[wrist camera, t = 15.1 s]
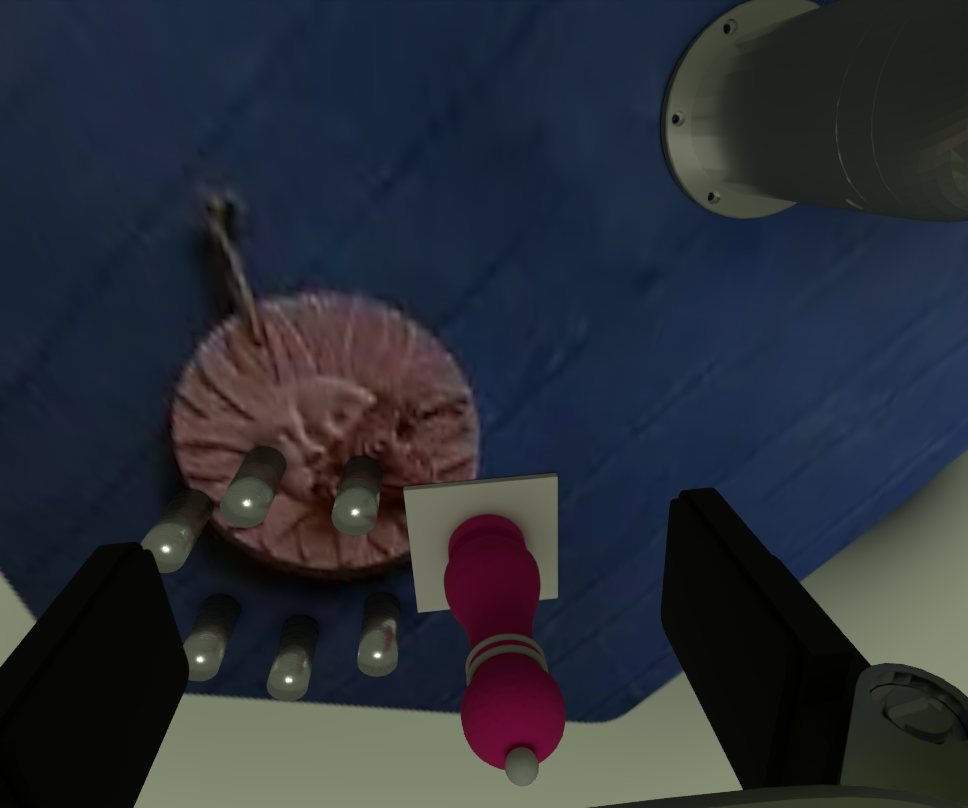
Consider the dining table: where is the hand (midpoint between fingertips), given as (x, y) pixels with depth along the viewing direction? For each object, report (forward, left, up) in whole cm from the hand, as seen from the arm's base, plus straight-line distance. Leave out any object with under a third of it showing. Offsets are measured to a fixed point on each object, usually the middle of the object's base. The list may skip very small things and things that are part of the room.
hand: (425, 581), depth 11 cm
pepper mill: (-3, +23, -32) cm, 39 cm away
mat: (-3, +23, -32) cm, 40 cm away
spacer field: (+13, +22, -32) cm, 41 cm away
